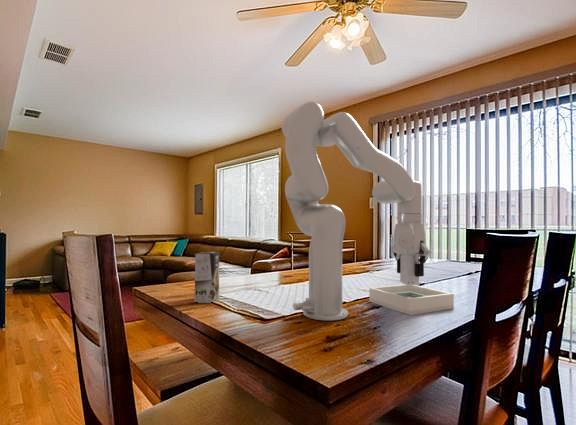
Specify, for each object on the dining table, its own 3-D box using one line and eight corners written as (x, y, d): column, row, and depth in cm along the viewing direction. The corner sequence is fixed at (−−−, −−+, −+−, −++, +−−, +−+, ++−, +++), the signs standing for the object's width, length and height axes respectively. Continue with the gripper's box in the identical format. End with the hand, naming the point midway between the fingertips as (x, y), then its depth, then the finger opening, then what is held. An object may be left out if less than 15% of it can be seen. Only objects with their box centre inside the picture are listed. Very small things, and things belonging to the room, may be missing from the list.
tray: (409, 315, 96) (409, 299, 96) (369, 301, 113) (369, 287, 113) (453, 308, 104) (453, 293, 104) (410, 296, 120) (409, 283, 120)
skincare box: (419, 285, 105) (419, 247, 106) (405, 285, 105) (405, 247, 106) (412, 281, 112) (412, 245, 112) (399, 281, 112) (399, 245, 112)
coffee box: (213, 303, 109) (214, 253, 110) (193, 303, 109) (194, 253, 110) (219, 297, 118) (220, 251, 119) (201, 297, 118) (202, 250, 119)
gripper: (382, 219, 115) (382, 271, 115) (421, 219, 100) (422, 279, 99) (398, 219, 119) (399, 270, 118) (439, 219, 103) (440, 277, 102)
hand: (410, 274), depth 109 cm, fingers closed on skincare box, 7 cm apart
